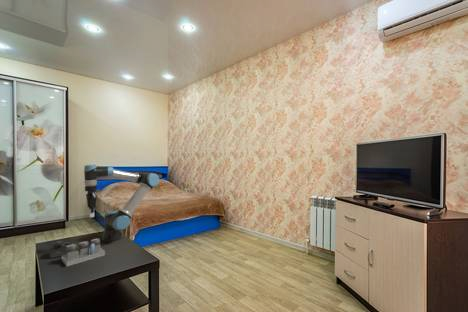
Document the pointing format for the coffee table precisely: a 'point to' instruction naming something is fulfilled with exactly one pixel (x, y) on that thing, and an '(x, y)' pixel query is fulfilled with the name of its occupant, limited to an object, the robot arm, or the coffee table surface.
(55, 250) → the camera
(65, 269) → the coffee table surface
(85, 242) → the knob mid
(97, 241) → the knob
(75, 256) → the knob panel
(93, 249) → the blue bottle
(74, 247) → the knob
